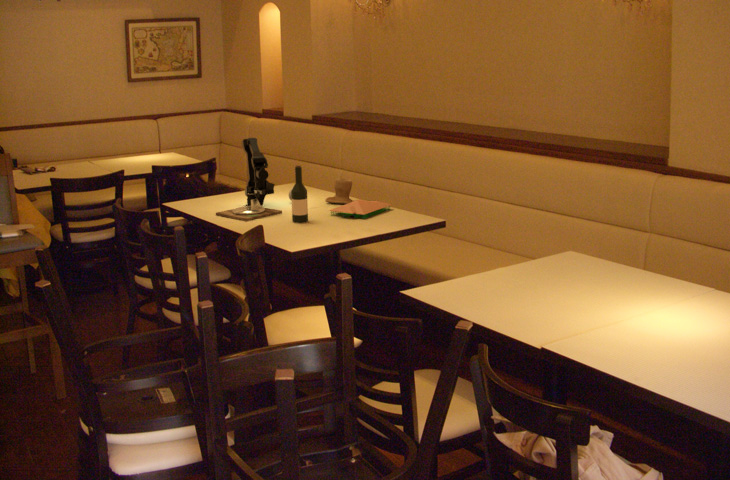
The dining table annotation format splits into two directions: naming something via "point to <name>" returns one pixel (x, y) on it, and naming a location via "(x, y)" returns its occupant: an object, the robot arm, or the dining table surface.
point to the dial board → (248, 217)
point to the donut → (290, 194)
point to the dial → (250, 208)
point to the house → (361, 208)
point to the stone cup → (341, 192)
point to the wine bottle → (299, 199)
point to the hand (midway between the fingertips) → (261, 205)
